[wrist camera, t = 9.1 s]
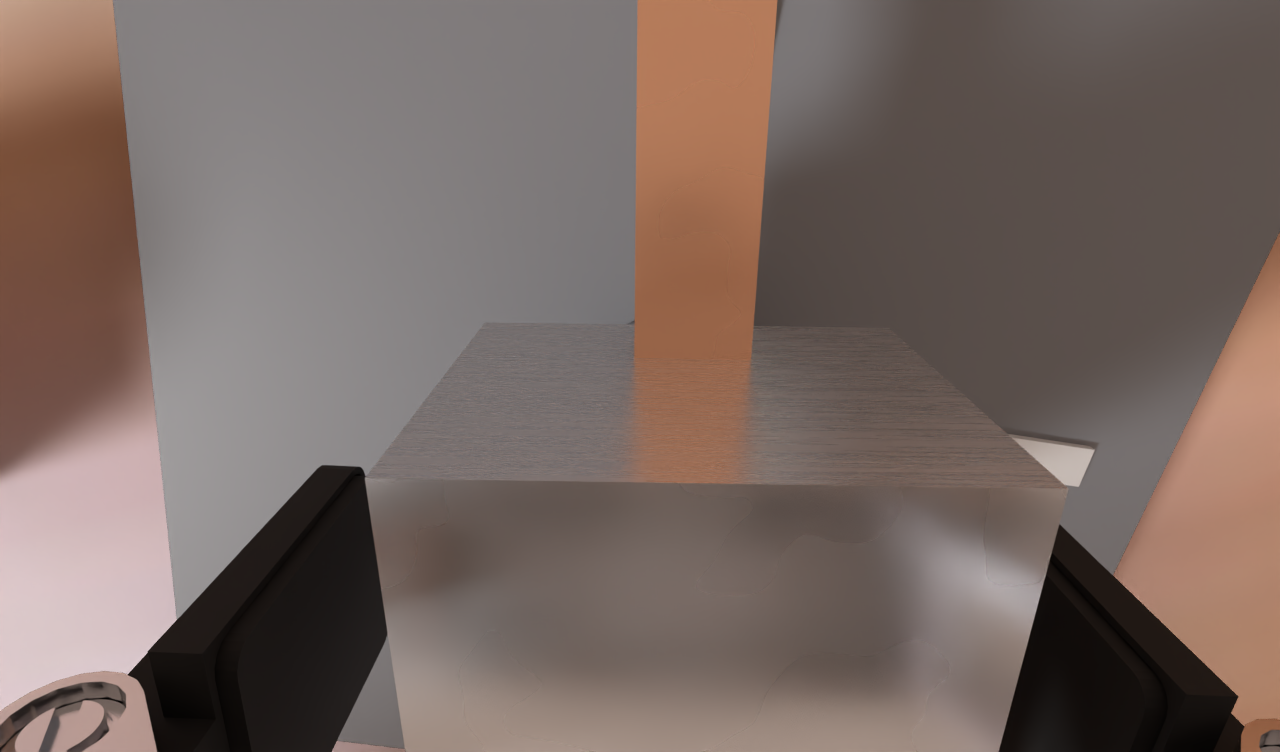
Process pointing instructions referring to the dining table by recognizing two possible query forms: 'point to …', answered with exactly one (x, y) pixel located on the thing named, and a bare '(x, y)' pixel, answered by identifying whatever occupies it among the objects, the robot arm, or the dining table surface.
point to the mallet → (705, 492)
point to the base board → (606, 213)
